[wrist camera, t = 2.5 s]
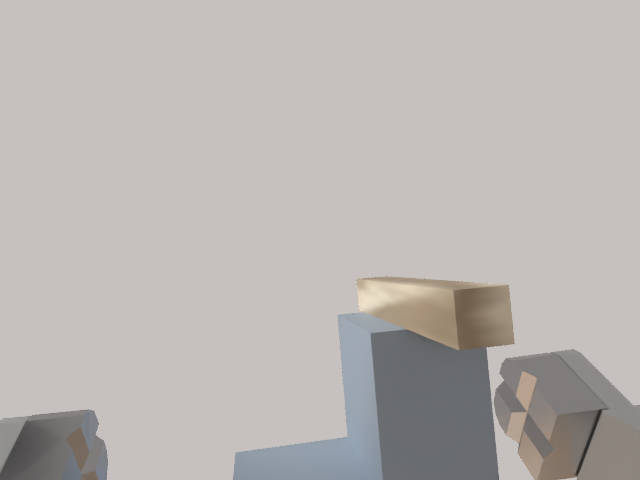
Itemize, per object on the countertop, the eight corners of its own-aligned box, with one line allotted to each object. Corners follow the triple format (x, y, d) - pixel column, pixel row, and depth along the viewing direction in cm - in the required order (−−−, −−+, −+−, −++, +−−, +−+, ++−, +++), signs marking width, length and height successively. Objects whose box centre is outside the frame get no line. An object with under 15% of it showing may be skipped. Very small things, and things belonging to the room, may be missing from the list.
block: (458, 350, 23) (453, 290, 23) (359, 310, 45) (356, 279, 45) (514, 343, 24) (508, 284, 24) (389, 307, 46) (386, 276, 46)
